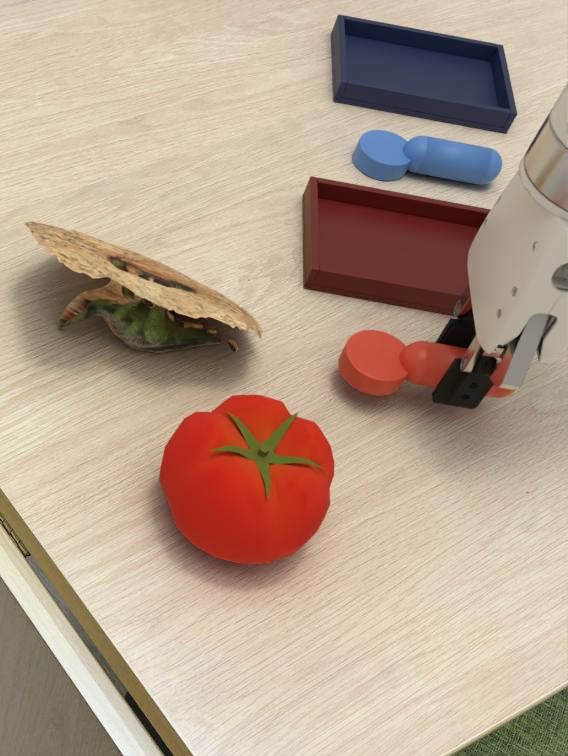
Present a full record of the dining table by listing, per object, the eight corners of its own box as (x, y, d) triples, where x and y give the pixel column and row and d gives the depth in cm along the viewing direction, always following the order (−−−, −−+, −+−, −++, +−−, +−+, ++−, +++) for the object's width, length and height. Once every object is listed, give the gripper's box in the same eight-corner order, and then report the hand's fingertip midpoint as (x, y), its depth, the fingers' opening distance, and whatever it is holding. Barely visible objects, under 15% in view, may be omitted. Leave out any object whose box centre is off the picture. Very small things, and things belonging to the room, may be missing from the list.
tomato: (181, 596, 61) (213, 530, 55) (131, 454, 67) (155, 380, 60) (338, 570, 63) (386, 504, 57) (276, 436, 69) (314, 362, 63)
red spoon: (505, 368, 72) (526, 340, 70) (513, 419, 70) (535, 391, 67) (336, 339, 72) (352, 310, 70) (338, 389, 70) (354, 360, 67)
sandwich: (175, 326, 82) (225, 245, 78) (230, 432, 72) (291, 346, 68) (-23, 256, 75) (20, 162, 71) (8, 363, 65) (61, 262, 60)
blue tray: (492, 64, 97) (503, 44, 96) (506, 133, 91) (517, 114, 90) (330, 33, 97) (338, 13, 95) (333, 101, 91) (341, 81, 89)
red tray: (491, 230, 84) (503, 211, 82) (507, 325, 77) (520, 306, 76) (302, 195, 83) (310, 175, 82) (303, 288, 77) (312, 268, 76)
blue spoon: (488, 166, 88) (505, 137, 86) (494, 201, 86) (512, 172, 83) (351, 141, 88) (364, 110, 86) (353, 175, 86) (366, 145, 83)
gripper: (696, 278, 51) (515, 484, 67) (638, 89, 60) (489, 310, 75) (552, 253, 51) (404, 465, 67) (514, 68, 60) (392, 293, 75)
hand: (451, 381), depth 71 cm, fingers closed on red spoon, 3 cm apart
